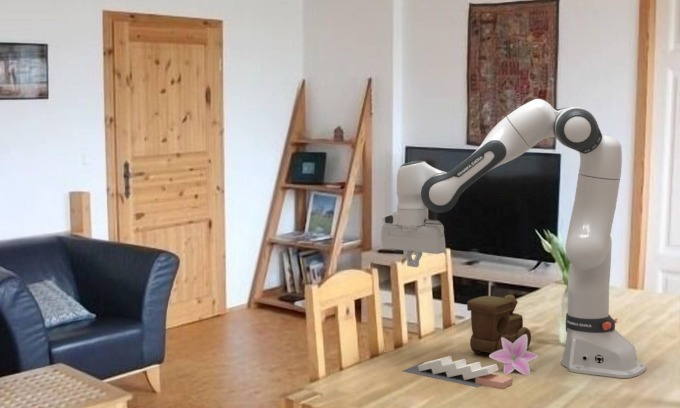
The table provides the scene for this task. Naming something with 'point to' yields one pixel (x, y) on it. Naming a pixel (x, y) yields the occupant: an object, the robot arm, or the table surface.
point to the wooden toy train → (495, 323)
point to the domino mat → (442, 376)
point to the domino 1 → (435, 363)
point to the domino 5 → (494, 381)
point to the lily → (514, 355)
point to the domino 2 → (449, 366)
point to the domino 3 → (464, 369)
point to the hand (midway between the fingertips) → (413, 266)
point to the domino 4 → (481, 372)
